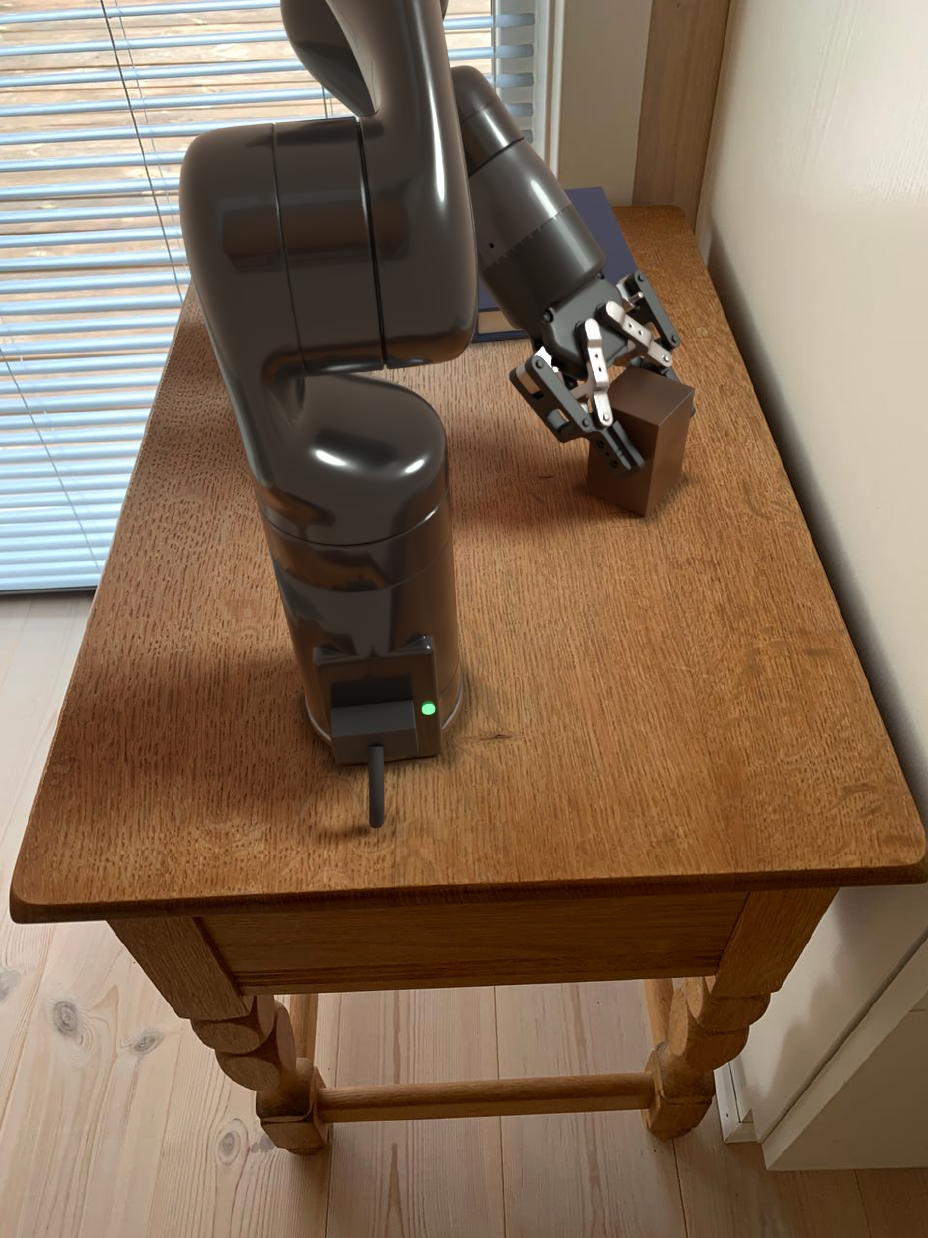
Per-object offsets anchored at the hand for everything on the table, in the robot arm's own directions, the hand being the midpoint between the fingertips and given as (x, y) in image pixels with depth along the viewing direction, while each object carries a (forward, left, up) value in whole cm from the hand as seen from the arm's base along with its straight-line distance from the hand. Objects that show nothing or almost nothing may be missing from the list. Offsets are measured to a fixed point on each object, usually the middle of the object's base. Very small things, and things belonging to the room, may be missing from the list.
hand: (659, 445), depth 68 cm
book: (+31, +3, -4) cm, 32 cm away
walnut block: (+1, +1, -4) cm, 5 cm away
